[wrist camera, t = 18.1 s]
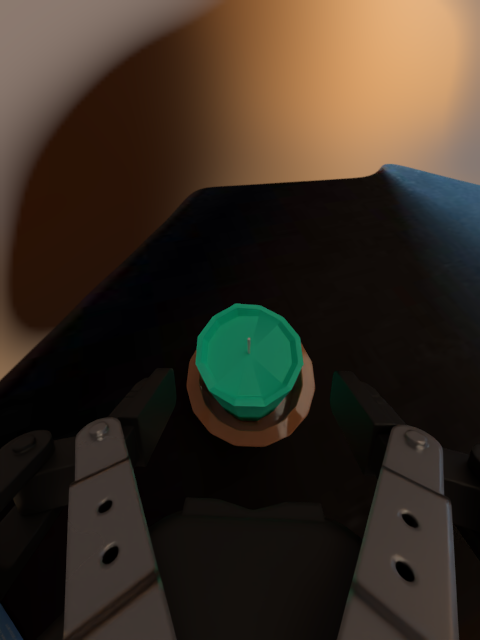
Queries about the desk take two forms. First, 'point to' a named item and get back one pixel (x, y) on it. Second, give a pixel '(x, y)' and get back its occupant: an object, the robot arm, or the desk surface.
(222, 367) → the candle
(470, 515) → the robot arm
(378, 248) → the desk surface
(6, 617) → the tape cartridge
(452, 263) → the desk surface
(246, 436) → the holder
